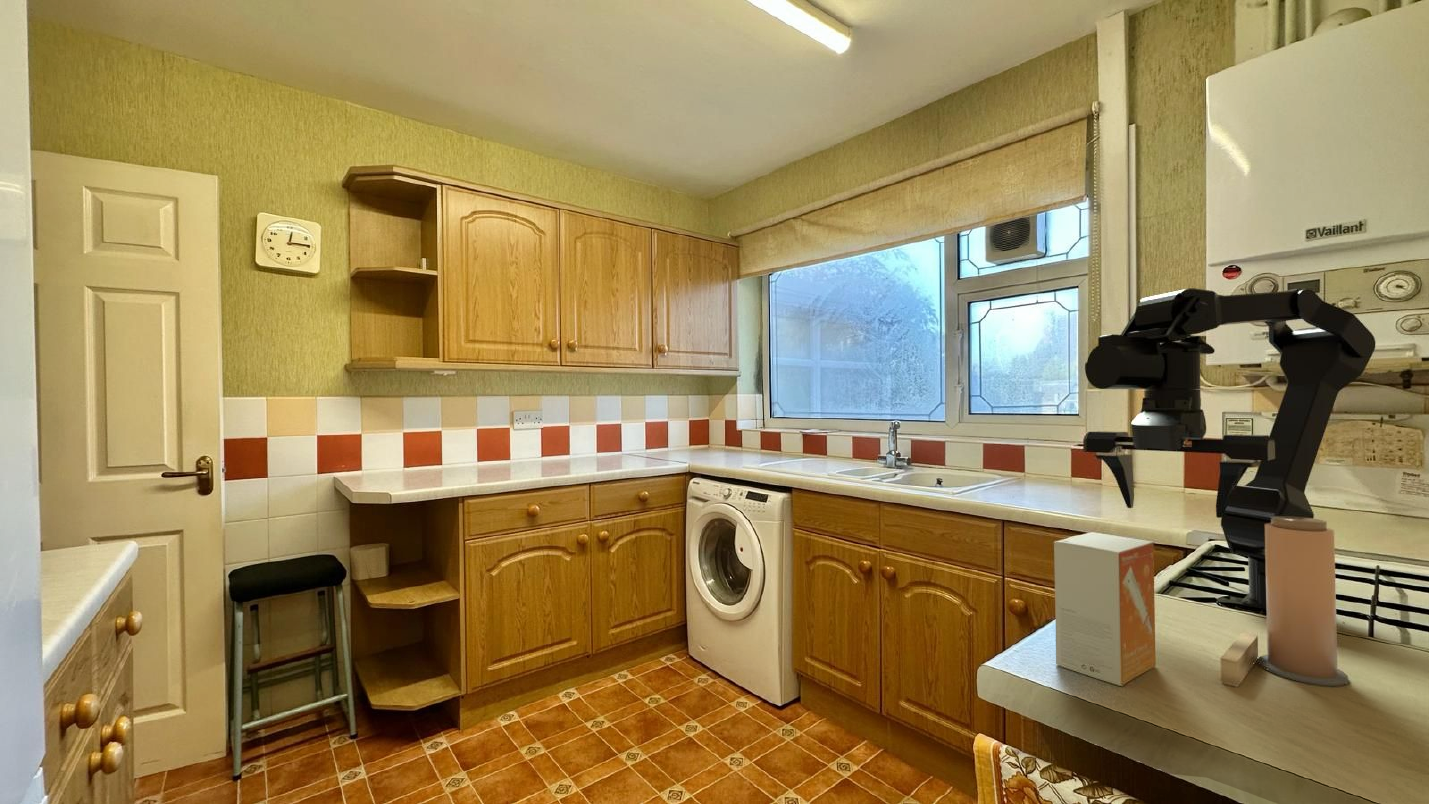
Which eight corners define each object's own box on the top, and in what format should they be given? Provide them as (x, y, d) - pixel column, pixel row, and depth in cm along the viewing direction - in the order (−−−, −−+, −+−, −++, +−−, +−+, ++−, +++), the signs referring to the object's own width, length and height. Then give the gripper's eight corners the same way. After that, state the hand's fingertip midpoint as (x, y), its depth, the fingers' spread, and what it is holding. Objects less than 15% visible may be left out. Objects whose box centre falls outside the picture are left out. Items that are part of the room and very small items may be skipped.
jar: (1261, 653, 63) (1258, 513, 63) (1327, 663, 61) (1323, 517, 61) (1275, 671, 59) (1272, 521, 59) (1346, 682, 56) (1342, 526, 57)
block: (1243, 654, 64) (1242, 632, 64) (1258, 658, 63) (1257, 635, 63) (1221, 682, 58) (1220, 657, 58) (1237, 687, 57) (1236, 661, 57)
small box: (1122, 688, 57) (1119, 552, 57) (1054, 665, 62) (1051, 540, 62) (1158, 667, 61) (1155, 540, 61) (1091, 647, 67) (1089, 530, 67)
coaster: (1264, 653, 64) (1264, 649, 64) (1351, 672, 59) (1351, 668, 59) (1252, 670, 60) (1252, 666, 60) (1344, 692, 55) (1344, 688, 55)
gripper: (1067, 390, 78) (1068, 509, 78) (1258, 386, 64) (1259, 532, 64) (1097, 392, 85) (1098, 501, 85) (1275, 388, 71) (1276, 520, 71)
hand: (1172, 512), depth 76 cm, fingers open, 9 cm apart
